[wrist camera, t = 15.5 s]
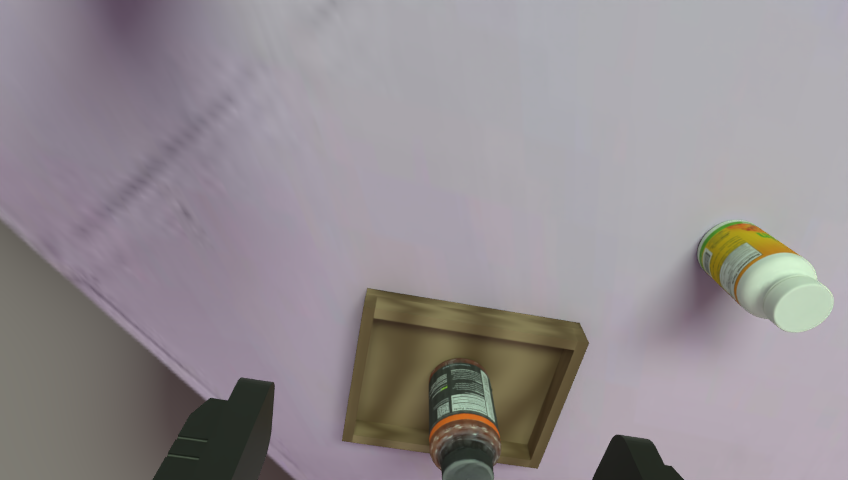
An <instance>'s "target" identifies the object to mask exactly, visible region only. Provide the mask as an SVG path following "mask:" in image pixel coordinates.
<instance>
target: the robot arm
mask: <svg viewBox="0 0 848 480" xmlns="http://www.w3.org/2000/svg"><path fill="white" fill-rule="evenodd" d="M274 389H275V385H274V382H268V381H262V380H255V379H248V378H240V379H239V380H238V382H237V384H236V386H235V388H234V390H233V392H232V394H231V396H230V398H229V400H228V401H227V400H221V399H214V398H210V399H208V400H207V401H206V402H205V403H204V404H202V405H201V406H200V407H199V408H198V409H196V410H195V411H194V412H193V413H191V415H190V416H189V417H188V419H187V421H186V423H185V424H184V426H183V428H182V430H181V431H180V433H179V435H178V438H177V440H175V442H174V443H173V445H172V447H171V449H170V450H169V452H168V456H167V457H165V459H164V461H163V463H162V464H161V466H160V468H159V469H158V471H157V473H156V475H155V476H154V478H153V480H258V477H259V474H260V471H261V469H262V466H263V463H264V460H265V457H266V454H267V450H268V446H269V442H270V437H271V429H272V416H273V403H274ZM593 480H684V479H683V478H682V477H681V476H680V475H679V474H678V473H677V472H676V470H675V469H674V468H673V467H672V466H667V465H664V463H663V461H662V459H661V457H660V455H659V453H658V451H657V449H656V447H655V445H654V444H653V442H652V441H650V440H649V439H644V438H637V437H631V436H624V435H615V436H614V437H613V438H612V439H611V441H610V443H609V445H608V448H607V450H606V452H605V454H604V456H603V458H602V460H601V462H600V464H599V466H598V468H597V470H596V472H595V474H594V477H593Z"/></svg>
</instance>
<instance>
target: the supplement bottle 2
mask: <svg viewBox="0 0 848 480" xmlns="http://www.w3.org/2000/svg"><path fill="white" fill-rule="evenodd" d="M697 257H698V261H699V264H700V265H701V267H702V268H703V269H704V270H705V272H706V273H707V274H708V275H709V276H710V277H712V278H713V279H714V280H715V281H716V282H717V283H718V284H719V285H720V286H721V287H722V288H723V289H724V290H725V291H726V292H727V293H728V294H729V295H730V296H731V297H732V298H733V299H734V300H735V301H736V302H737V303H738V304H740V305H741V306H742V307H743V308H744V309H745V310H746V311H748V312H749V313H750V314H752V315H754V316H756V317H759V318H764V319H769V320H770V321H771V322H773V323H774V324H775V325H776V326H777V327H779V328H780V329H782V330H784V331H787V332H803V331H807V330H810V329H812V328H814V327H816V326H818V325H819V324H820V323H822V322H823V321H824V320H825V319H826V318H827V317H828V315H829V314H830V312H831V310H832V308H833V304H834V299H833V295H832V293H831V292H830V290H829V289H828V288H827V287H825V286H824V285H822V284H821V283H820V282H818V281H817V275H816V272H815V270H814V268H813V266H812V265H811V264H810V263H809V262H808V261H807V260H805V259H804V258H803V257H801V256H800V255H798V254H797V253H795V252H794V251H792V250H791V249H790V248H788V247H787V246H785V245H784V244H782V243H781V242H779V241H778V240H776V239H775V238H773V237H772V236H770V235H769V234H767V233H766V232H764V231H763V230H761V229H760V228H759V227H757V226H755V225H754V224H752V223H750V222H747V221H743V220H730V221H726V222H723V223H721V224H718V225H716V226H715V227H713V228H712V229H711V230H710V231H708V232H707V233H706V235H705V236H704V237H703V238H702V240H701V242H700V244H699V247H698V252H697Z"/></svg>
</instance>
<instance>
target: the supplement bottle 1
mask: <svg viewBox="0 0 848 480" xmlns="http://www.w3.org/2000/svg"><path fill="white" fill-rule="evenodd" d="M429 448H430V455H431V458H432V460H433V462H434V463H435V465H436V466H437V467H438V468H439V469H440V470H441V471H442V480H494V473H493V466H494V465H495V464H496V463H497V461H498V459H499V457H500V454H501V441H500V433H499V429H498V423H497V417H496V412H495V406H494V400H493V394H492V388H491V383H490V379H489V375H488V373H487V371H486V370H485V369H484V368H483V367H482V366H481V365H480V364H479V363H477V362H475V361H473V360H470V359H466V358H454V359H450V360H447V361H444V362H442V363H441V364H439V365H438V366H437V367H436V368H435V369H434V370H433V372H432V373H431V375H430V379H429Z"/></svg>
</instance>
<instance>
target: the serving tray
mask: <svg viewBox="0 0 848 480" xmlns="http://www.w3.org/2000/svg"><path fill="white" fill-rule="evenodd" d="M588 344H589V342H588V340H587V338H586V336H585V333H584V331H583V329H582V327H581V325H580V323H576V322H570V321H564V320H558V319H551V318H545V317H539V316H533V315H527V314H521V313H515V312H509V311H503V310H497V309H491V308H485V307H479V306H472V305H466V304H460V303H454V302H448V301H442V300H436V299H430V298H424V297H418V296H412V295H406V294H400V293H394V292H387V291H381V290H375V289H369V288H367V293H366V297H365V302H364V307H363V313H362V319H361V326H360V332H359V338H358V344H357V350H356V357H355V363H354V369H353V375H352V382H351V388H350V394H349V400H348V406H347V413H346V419H345V425H344V431H343V437H342V441H346V442H353V443H360V444H367V445H374V446H381V447H388V448H395V449H403V450H410V451H417V452H424V453H430V448H429V379H430V375H431V373H432V372H433V370H434V369H435V368H436V367H437V366H438V365H439V364H441V363H442V362H444V361H447V360H450V359H454V358H466V359H470V360H473V361H475V362H477V363H479V364H480V365H481V366H482V367H483V368H484V369H485V370H486V371H487V373H488V375H489V379H490V383H491V388H492V394H493V400H494V406H495V412H496V417H497V423H498V429H499V433H500V441H501V454H500V457H499V459H498V461H497V463H501V464H509V465H516V466H523V467H530V468H537V469H538V467H539V464H540V462H541V459H542V457H543V454H544V452H545V449H546V447H547V445H548V442H549V440H550V437H551V435H552V432H553V430H554V427H555V425H556V423H557V420H558V418H559V415H560V413H561V410H562V408H563V405H564V403H565V401H566V398H567V396H568V393H569V391H570V388H571V386H572V383H573V381H574V379H575V376H576V374H577V371H578V369H579V366H580V364H581V361H582V359H583V357H584V354H585V352H586V349H587V347H588Z"/></svg>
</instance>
